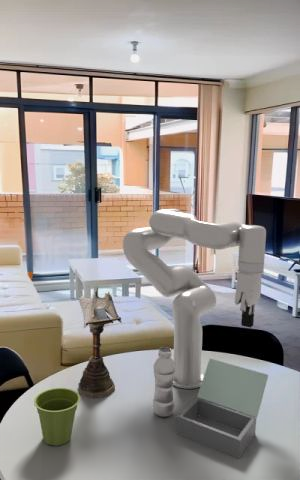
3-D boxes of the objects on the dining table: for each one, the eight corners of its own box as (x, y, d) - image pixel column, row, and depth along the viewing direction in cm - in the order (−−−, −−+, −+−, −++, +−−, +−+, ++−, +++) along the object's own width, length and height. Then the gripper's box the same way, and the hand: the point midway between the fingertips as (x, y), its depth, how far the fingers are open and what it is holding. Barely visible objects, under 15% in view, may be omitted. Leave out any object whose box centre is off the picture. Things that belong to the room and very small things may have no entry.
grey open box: (176, 433, 114) (177, 416, 114) (196, 413, 124) (197, 397, 124) (238, 458, 105) (240, 440, 104) (255, 434, 115) (256, 417, 114)
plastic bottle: (159, 422, 119) (161, 356, 116) (148, 410, 125) (149, 347, 122) (178, 416, 122) (180, 352, 119) (166, 405, 128) (168, 343, 125)
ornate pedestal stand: (127, 401, 130) (129, 292, 124) (86, 408, 125) (85, 296, 120) (113, 377, 145) (114, 279, 140) (76, 382, 141) (75, 281, 135)
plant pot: (58, 458, 103) (57, 416, 101) (25, 441, 109) (24, 402, 108) (89, 434, 113) (89, 395, 111) (57, 420, 119) (56, 383, 118)
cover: (209, 358, 128) (210, 359, 129) (197, 396, 123) (198, 397, 124) (267, 374, 119) (268, 375, 119) (256, 417, 114) (257, 417, 115)
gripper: (247, 261, 132) (244, 316, 135) (229, 269, 120) (225, 330, 123) (271, 264, 128) (267, 321, 131) (254, 273, 116) (250, 336, 119)
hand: (247, 325), depth 127 cm, fingers closed
